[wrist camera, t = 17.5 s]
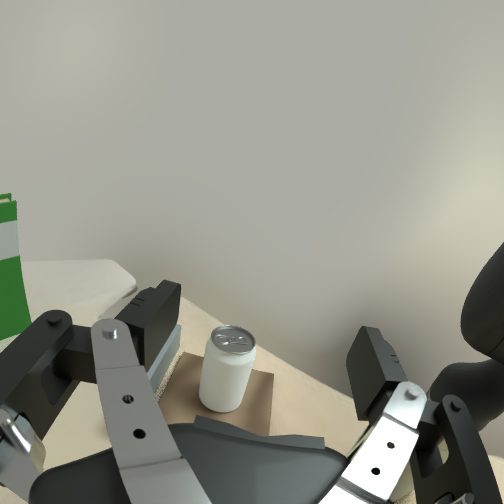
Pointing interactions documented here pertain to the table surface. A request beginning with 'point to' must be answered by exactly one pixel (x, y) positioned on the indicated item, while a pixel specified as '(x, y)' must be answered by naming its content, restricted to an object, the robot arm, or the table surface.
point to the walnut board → (189, 405)
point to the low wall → (164, 358)
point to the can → (226, 368)
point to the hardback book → (11, 274)
